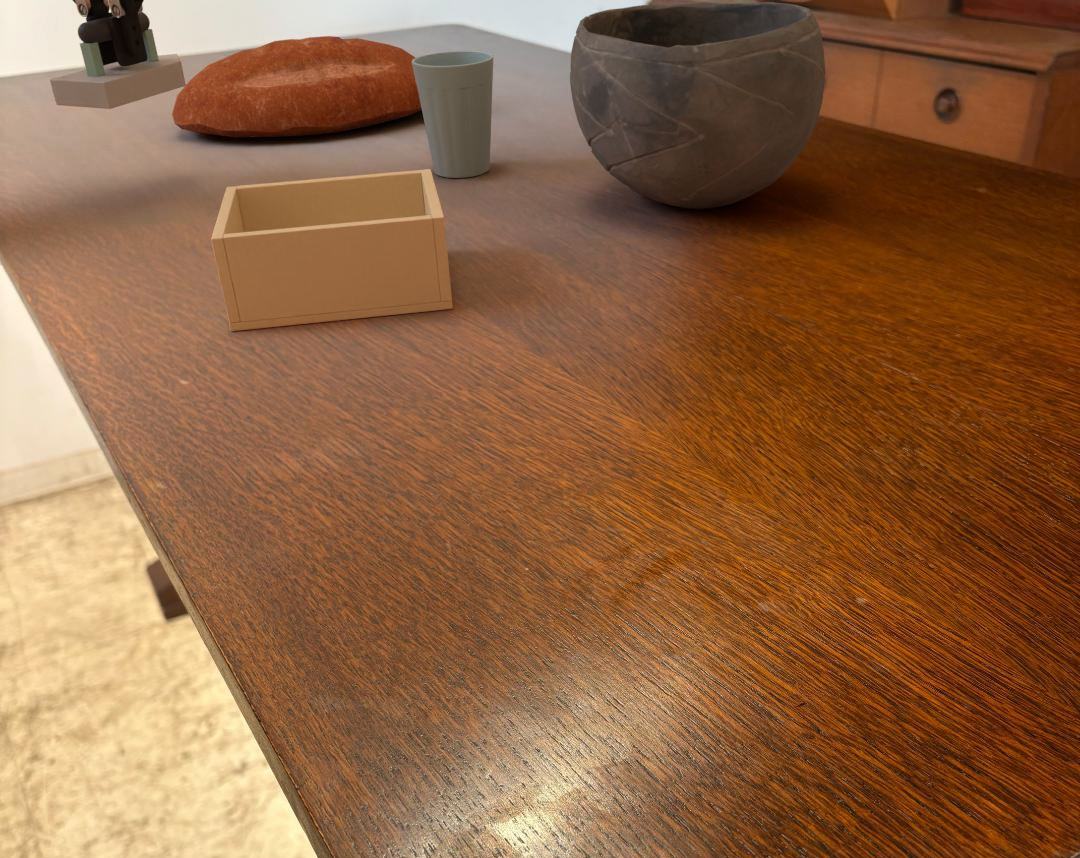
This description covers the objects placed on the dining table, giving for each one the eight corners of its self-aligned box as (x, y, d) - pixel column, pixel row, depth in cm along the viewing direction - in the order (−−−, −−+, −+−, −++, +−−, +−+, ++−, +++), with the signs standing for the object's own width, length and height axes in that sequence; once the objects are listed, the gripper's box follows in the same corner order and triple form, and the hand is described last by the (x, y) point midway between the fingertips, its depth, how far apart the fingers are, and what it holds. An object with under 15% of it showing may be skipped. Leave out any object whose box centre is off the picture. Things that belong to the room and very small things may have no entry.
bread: (469, 123, 125) (462, 38, 120) (185, 160, 116) (165, 71, 111) (419, 87, 142) (412, 13, 137) (170, 117, 134) (152, 39, 129)
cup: (426, 162, 111) (415, 52, 105) (501, 158, 111) (494, 48, 105) (419, 183, 105) (407, 67, 99) (499, 179, 105) (491, 63, 99)
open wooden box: (230, 331, 76) (210, 238, 72) (243, 270, 86) (226, 186, 82) (452, 309, 77) (444, 217, 74) (438, 251, 88) (430, 168, 84)
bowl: (561, 175, 105) (555, 3, 96) (776, 160, 106) (789, -11, 97) (588, 245, 87) (585, 43, 79) (845, 227, 88) (868, 25, 80)
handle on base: (110, 109, 95) (90, 28, 92) (56, 105, 98) (34, 26, 94) (207, 79, 105) (193, 5, 102) (156, 76, 108) (140, 4, 104)
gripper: (-39, -172, 90) (28, 67, 100) (106, -180, 84) (161, 75, 94) (31, -174, 95) (88, 52, 105) (172, -182, 89) (217, 59, 100)
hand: (122, 61), depth 100 cm, fingers closed on handle on base
